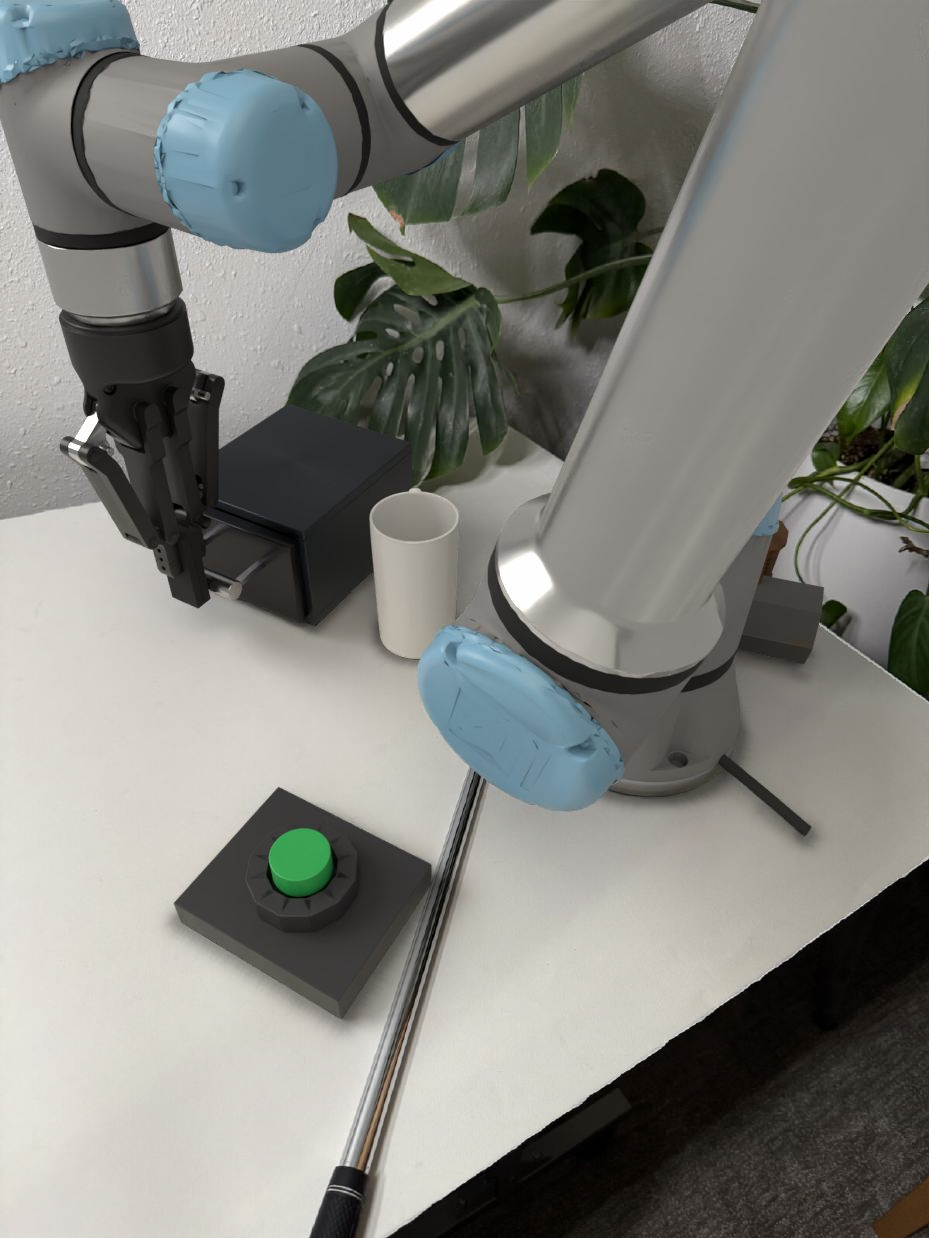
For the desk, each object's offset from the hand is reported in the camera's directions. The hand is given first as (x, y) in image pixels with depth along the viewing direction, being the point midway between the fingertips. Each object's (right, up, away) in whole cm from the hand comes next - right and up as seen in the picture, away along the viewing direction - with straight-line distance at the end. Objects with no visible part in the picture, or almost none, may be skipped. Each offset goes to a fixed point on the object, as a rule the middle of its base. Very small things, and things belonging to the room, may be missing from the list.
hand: (191, 597), depth 69 cm
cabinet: (+7, +5, +13) cm, 15 cm away
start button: (+12, -17, -17) cm, 26 cm away
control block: (+12, -19, -14) cm, 27 cm away
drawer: (+5, +3, +9) cm, 11 cm away
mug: (+18, -2, +6) cm, 19 cm away
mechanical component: (+40, -3, +2) cm, 41 cm away
